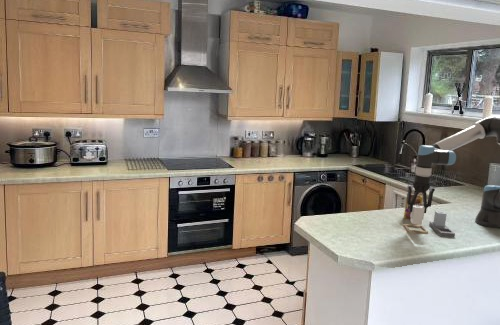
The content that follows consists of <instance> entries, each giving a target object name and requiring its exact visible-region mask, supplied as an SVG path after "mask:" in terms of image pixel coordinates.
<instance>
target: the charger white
mask: <svg viewBox="0 0 500 325" xmlns="http://www.w3.org/2000/svg"><path fill="white" fill-rule="evenodd" d="M413 206H414V207H415V208H414V215H413V219H410V222H411V225H420V226H423V225H422V224H423V220H424V218H423V212H424V208H423V207H422V206H416V205H413ZM422 219H423V220H422Z"/></svg>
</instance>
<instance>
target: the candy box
mask: <svg viewBox="0 0 500 325" xmlns="http://www.w3.org/2000/svg"><path fill="white" fill-rule="evenodd" d="M407 195H408V193H407V194H406V196H407ZM413 195H414V193H411V200H412V197H413ZM405 199H406V200H405V206H404V214H403V219H408V220H411V217H410V215H411V212H410V211H409V208H410V205H408V204H407V197H406V198H405ZM410 202H411V201H410ZM414 205H416V206H424V204H423V194H422V195H421V194H418V195H417V198H416V200H415V203H414Z"/></svg>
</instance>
